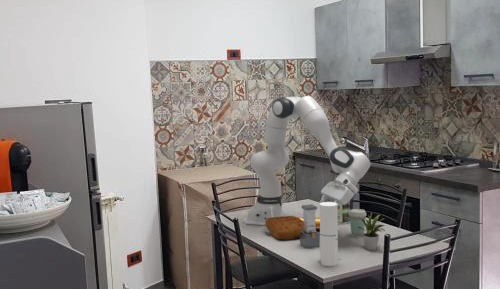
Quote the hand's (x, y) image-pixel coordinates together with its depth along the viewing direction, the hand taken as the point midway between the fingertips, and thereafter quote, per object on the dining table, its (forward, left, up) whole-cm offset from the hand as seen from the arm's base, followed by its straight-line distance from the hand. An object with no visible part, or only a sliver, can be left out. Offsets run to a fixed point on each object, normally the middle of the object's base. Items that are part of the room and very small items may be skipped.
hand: (325, 206), depth 228 cm
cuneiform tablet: (-18, +15, -19) cm, 30 cm away
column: (-7, -3, -17) cm, 19 cm away
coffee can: (+9, +42, -19) cm, 46 cm away
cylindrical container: (+1, -22, -19) cm, 29 cm away
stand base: (-7, -3, -18) cm, 20 cm away
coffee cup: (+16, +18, -19) cm, 30 cm away
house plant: (+19, -3, -19) cm, 27 cm away
